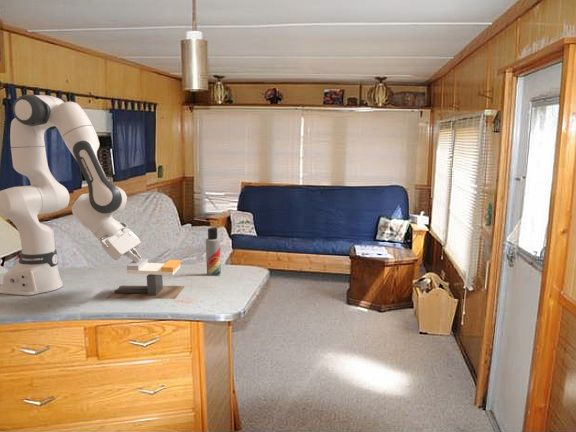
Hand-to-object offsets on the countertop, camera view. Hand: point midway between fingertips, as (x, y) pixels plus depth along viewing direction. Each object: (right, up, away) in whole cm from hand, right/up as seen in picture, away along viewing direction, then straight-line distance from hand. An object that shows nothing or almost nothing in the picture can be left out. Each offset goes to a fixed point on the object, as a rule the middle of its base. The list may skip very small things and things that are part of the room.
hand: (139, 260), depth 173 cm
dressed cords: (-2, -11, +2) cm, 12 cm away
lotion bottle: (+22, -9, +27) cm, 36 cm away
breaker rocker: (+5, -5, +1) cm, 7 cm away
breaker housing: (+5, -11, +2) cm, 13 cm away
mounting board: (+2, -13, +2) cm, 13 cm away
